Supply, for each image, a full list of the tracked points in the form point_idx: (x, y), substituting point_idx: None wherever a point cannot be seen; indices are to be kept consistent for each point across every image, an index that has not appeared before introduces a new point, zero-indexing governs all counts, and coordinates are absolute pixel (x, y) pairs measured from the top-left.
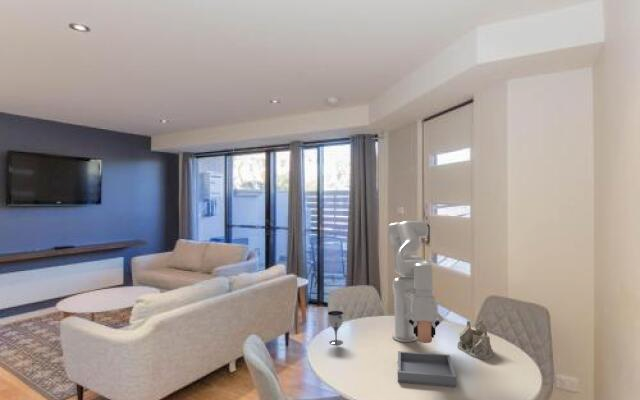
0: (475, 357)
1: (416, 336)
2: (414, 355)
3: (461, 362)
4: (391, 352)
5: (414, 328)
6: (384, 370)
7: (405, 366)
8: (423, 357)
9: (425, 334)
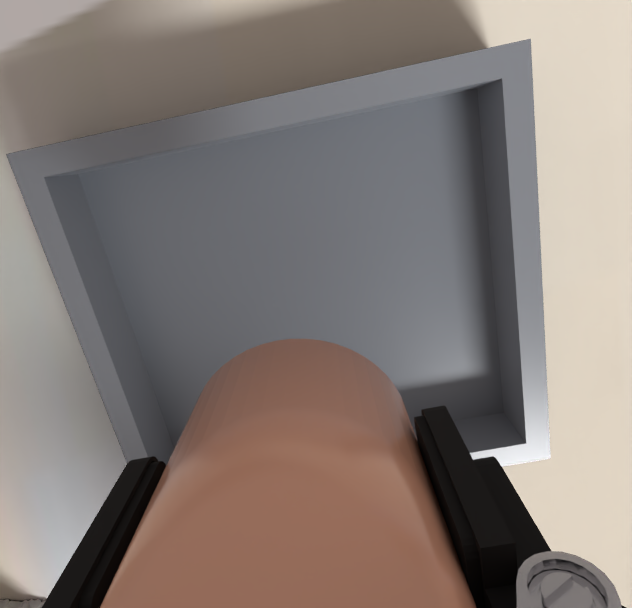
0: (42, 602)
1: (427, 409)
2: None
3: None
4: (573, 508)
5: (520, 540)
6: (611, 221)
7: (459, 311)
8: None
9: (247, 420)
